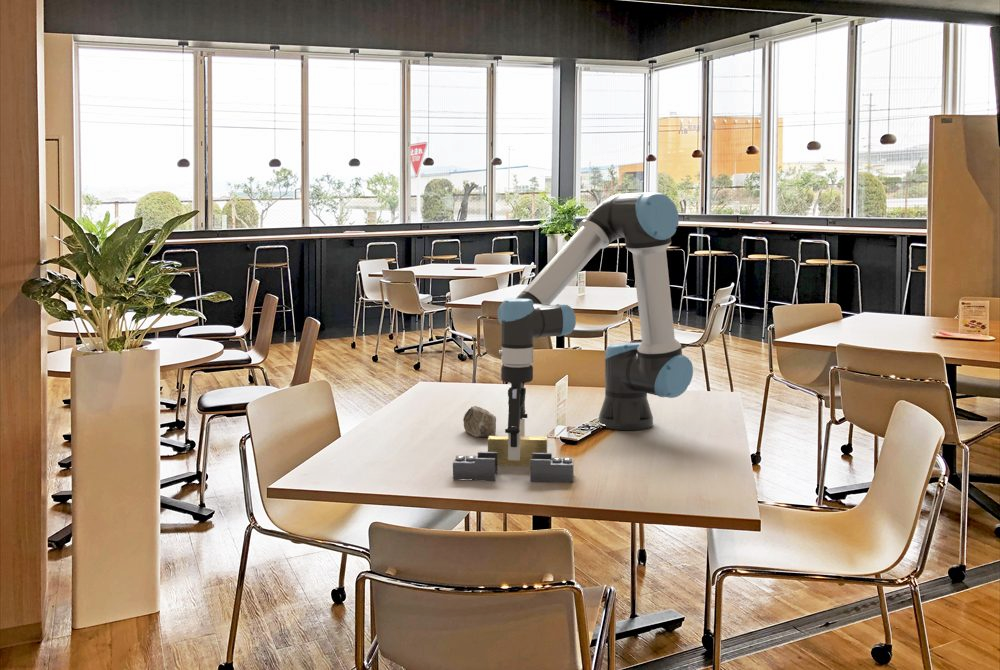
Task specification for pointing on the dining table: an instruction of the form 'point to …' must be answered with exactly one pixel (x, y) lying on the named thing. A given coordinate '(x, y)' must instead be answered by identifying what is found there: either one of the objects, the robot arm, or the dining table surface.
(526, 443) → the yellow wood block
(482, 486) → the dining table surface
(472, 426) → the stone
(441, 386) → the dining table surface
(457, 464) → the grey block pair
